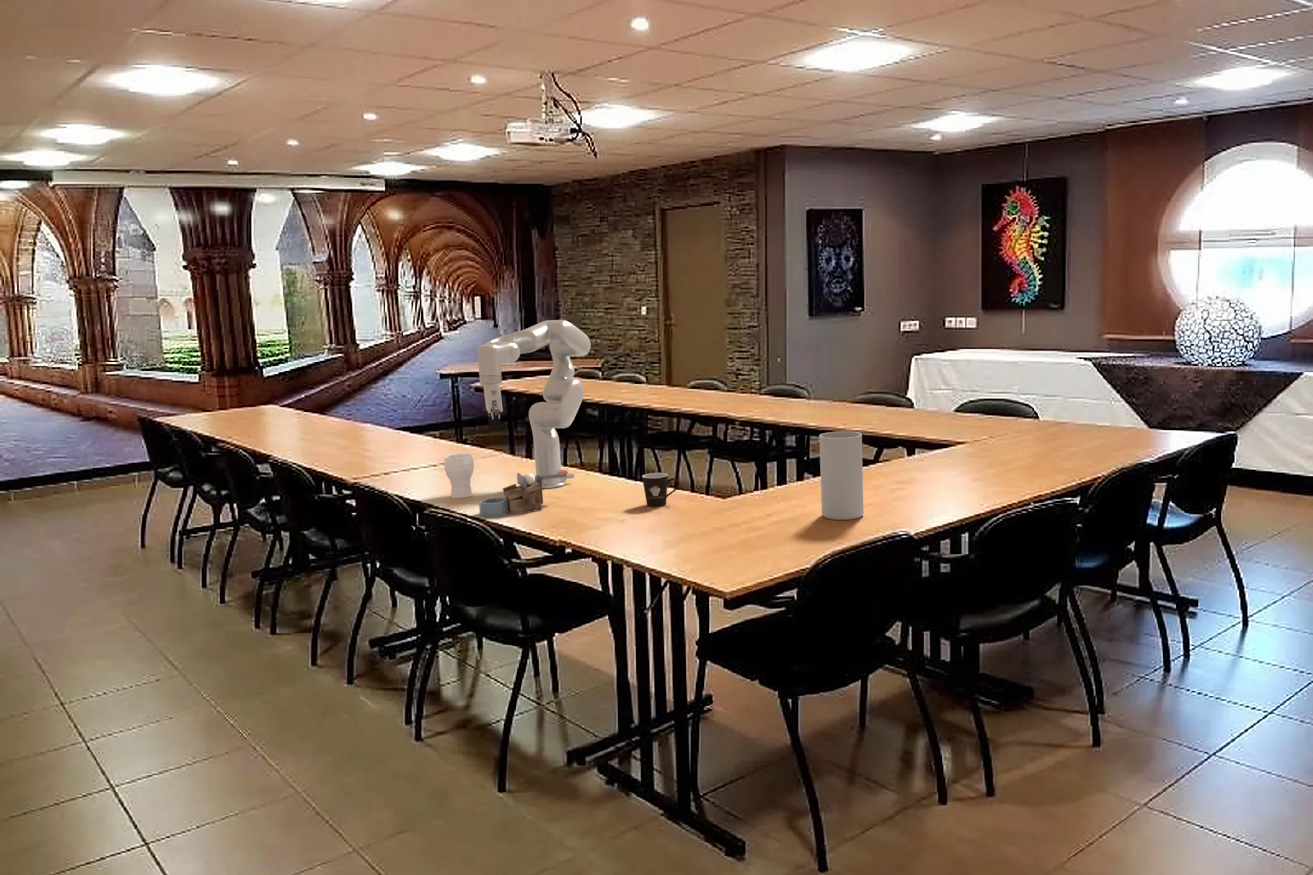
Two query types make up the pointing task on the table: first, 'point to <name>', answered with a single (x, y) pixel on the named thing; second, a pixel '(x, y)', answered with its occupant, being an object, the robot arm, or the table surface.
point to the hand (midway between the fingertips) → (495, 428)
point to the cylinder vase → (841, 475)
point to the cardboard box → (524, 497)
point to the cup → (459, 474)
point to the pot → (493, 507)
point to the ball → (529, 478)
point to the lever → (541, 477)
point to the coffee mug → (656, 488)
